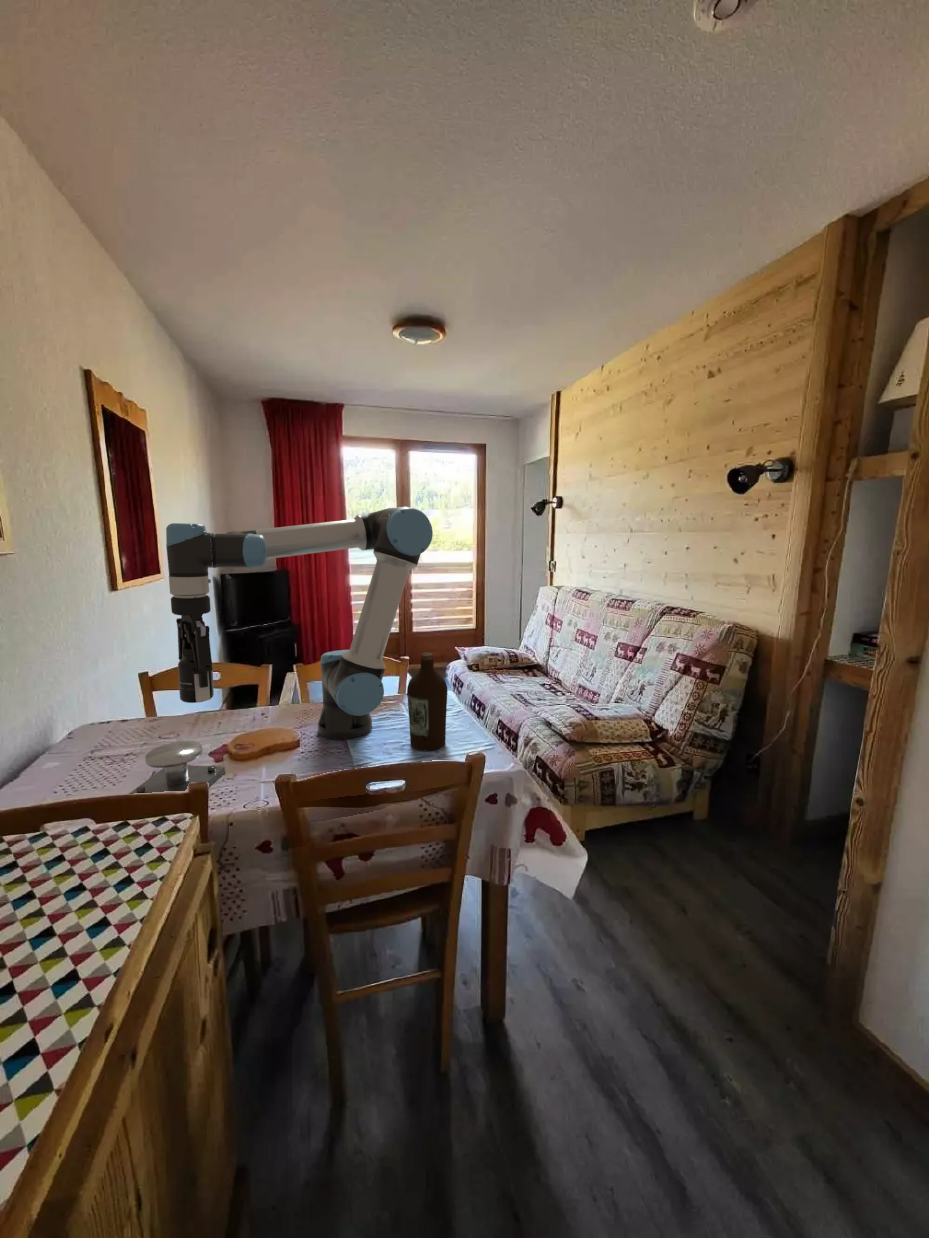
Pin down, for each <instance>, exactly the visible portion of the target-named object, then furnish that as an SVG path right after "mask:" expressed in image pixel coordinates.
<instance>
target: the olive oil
mask: <svg viewBox="0 0 929 1238" xmlns="http://www.w3.org/2000/svg"><path fill="white" fill-rule="evenodd" d="M420 657H421V658H420V668H419V669H418V671H417V672H416V673H414V675H413V676H412V677H411V678H410V679H409V681H408V684H407V687H406V688H407V689H406V696H407V708H408V710H407V711H408V722H409V738H410V739H409V742H410V746H411V747H412V748H413V749H415V750H417V751H421V752H432V751H436V750H440V749H442V748H444V746H445V745H446V739H447V738H446V731H447V708H448V707H447V705H448V686H447V682H446V679H445V678H444V677H443V676H442V675H441V674H440V672H438V671H437V670H436V669H435V668H434V658H433V657H434V653H432V652H422V653H421V654H420Z"/></svg>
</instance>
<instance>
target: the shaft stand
mask: <svg viewBox="0 0 929 1238" xmlns="http://www.w3.org/2000/svg"><path fill="white" fill-rule="evenodd" d="M203 751H204V750H203V745H202V743H200V742H198V741H194V740H181V741H174V742H169V743H166V744H165V743H164V744H163V745H159V746H157V747H155V748H153V749H152V750H150V751H148V753H146V755H145V757H144V758H145V764H146V766H149V767H151V768H158V769H159V768H160V770H158V771H157V772H156V773H154V774H153V775H152V776H151V777H149V778H148V779H147V780H145V781H144V782H143V783H141V784H140V785H139V786H137V787H136V788H133V790H132V791H131V792H129V793H128V794H134V793H152V792H164V791H185V790H186V789H187V786H188V784H189V783H191V782H208V783H209V788H210V787H211V786H212V785H213V784H215V782H216V781H218V780H219V779H220V778H221V777H222V776H223V775H224V774H226V767H225V766H220V765H219V766H216V765H189V764H188V763H190V762H193V761H194V760H196V759H198V758H199V757H200V756H202V754H203ZM161 768H162V769H161Z"/></svg>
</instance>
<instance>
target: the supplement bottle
mask: <svg viewBox="0 0 929 1238" xmlns="http://www.w3.org/2000/svg"><path fill="white" fill-rule="evenodd" d="M182 656H183V657H184V658H183V659H181V660H179V661H178V663H177V673H178V689H179V699H180V700H181V701H182V702H183V703H188V704H195V703H199V702H196V694H195V679H194V674H193V673H192V672H194V671H196V669H195V664H194V659H193V653H192V648H191V645H188V646H185V647H183V648H182ZM203 667H204V666H203ZM212 668H213V664H212ZM209 687H210V700H211V699H213V697H214V696H215V695H214V694H215V693H214V670H212V671H209ZM206 701H208V700H206ZM206 701H205V702H206ZM203 702H204V701H201V702H200V703H203Z"/></svg>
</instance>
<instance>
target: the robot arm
mask: <svg viewBox="0 0 929 1238" xmlns="http://www.w3.org/2000/svg"><path fill="white" fill-rule="evenodd" d="M165 532H166V534H165V535H166V536H165V537H166V539H165V540H166V546H165V547H166V557H167V566H168V586H169V594H170V595H171V598H170V608H171V613H172V614H173V615H176V616H180V618H179V617H178V618H176V620H175V622H176V628H177V643H178V645H177V647H178V649H177V651H178V660H179V661H180V660H181V659H183V658H184V657H183V656H182V648H183V647H185V646H188V645H191V648H192V653H193V659H194V664H195V669H196V671H194V672H192V673H193V674H194V679H195V694H196V702H198V703H202V702H201V701H203V702H206V700H207V701H210V700H211V699H210V687H209V671H212V670H213V668H212V665H213V661H212V659H213V658H212V652H211V649H212V648H211V640H210V626H209V625H206V624H205V623H206V622H205V621H204V619H203V615H205V614H209V613H210V612H211V608H212V607H211V597H210V596H209V593H210V585H209V584H211V582H212V581H211V579H210V578H209V568H210V569H211V568H212V569H213V568H214V569H215V568H224V569H225V568H226V569H227V568H229V569H231V568H234V569H235V568H236V569H237V568H240V569H242V568H243V569H244V568H245V569H246V568H248V569H253V568H263V567H265V566H266V563H267V560H270V559H279V558H286V557H287V558H288V557H293V556H294V557H295V556H303V555H308V554H317V553H324V552H334V551H340V550H347V549H348V550H349V549H356V548H358V549H360V550H361V551H368V550H369V551H370V550H373V555H374V557H375V559H376V562H375V566H374V568H373V572H372V575H371V579H370V583H369V586H368V589H367V591H366V595H365V599H364V602H363V606H362V608H361V611H360V616H359V618H358V622H357V625H356V629H355V631H354V634H353V638H352V641H351V644H350V648H349V649H342V650H341V649H340V650H332V651H328V652H324V653H323V654H322V655H321V656H320V670H321V673H320V674H321V690H322V691H321V692H322V708H321V711H320V715H319V718H318V722H317V733H318V734H319V735H320V736H321V737H323V738H325V739H330V740H351V739H354V738H359V737H361V736H364V735H366V734H367V733H369V732H370V731H371V730H372V728H373V720H372V716H371V713H372V712H374V711H375V710H376V709H377V708H378V707H379V706H380V704H381V703H382V702H383V699H384V695H385V690H384V684H383V682H382V681H383V677H384V675H385V671H386V668H387V666H386V664H385V662H384V661H383V657H384V654H385V652H386V651H385V650H386V647H387V644H388V641H389V637H390V634H391V632H392V628H393V625H394V621H395V619H396V615H397V611H398V609H399V605H400V602H401V599H402V595H403V592H404V589H405V585H406V583H407V579H408V576H409V573H410V571H411V570H413V569H415V568H416V567H418V564H419V561H420V558H421V555H422V554H423V553H424V552H425V551H426V550H427V549H428V548H429V547H430V546H431V543H432V540H433V535H434V534H433V526H432V523H431V522H430V519H429V517H428V516H427V515H426V514H425V513H424V512H423V511H421V510H419V509H417V508H416V507H415V508H414V507H410V506H399V507H388V508H385V509H381V510H377V511H373V512H369V513H363V514H362V513H361V514H357V515H356V516H355V517H354V518H353V519H343V520H335V521H334V520H333V521H325V522H314V523H306V524H298V525H297V524H296V525H288V526H280V527H269V528H261V529H255V530H241V531H228V532H226V533H212V532H207V530H206V526H205V524H202V523H184V522H183V523H182V522H179V523H177V522H176V523H175V522H173V523H172V522H171V523H169V524H167V526H166V528H165ZM203 666H204V667H203ZM213 671H214V670H213Z"/></svg>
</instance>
